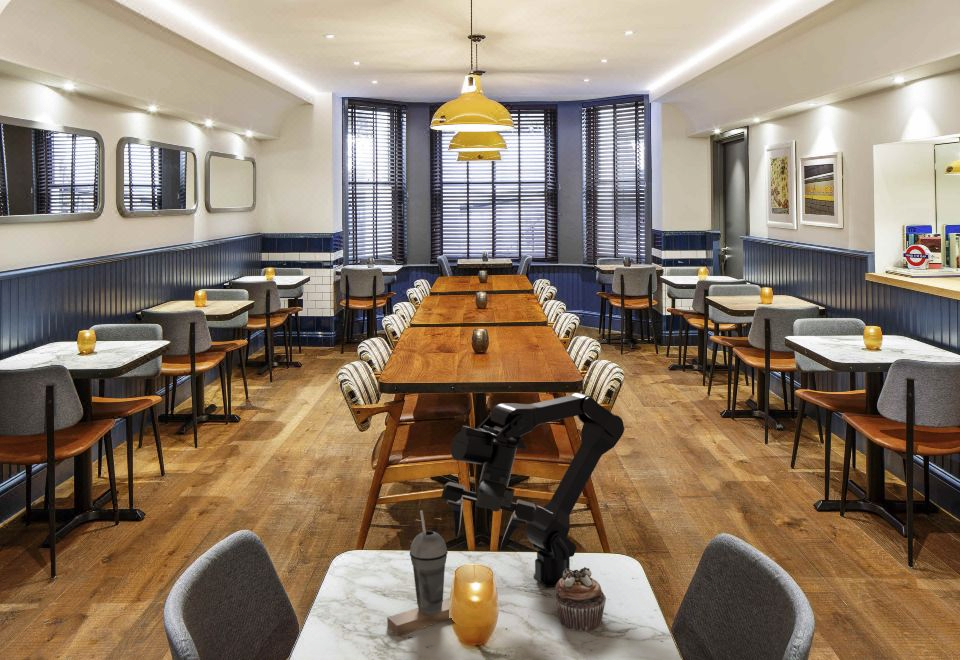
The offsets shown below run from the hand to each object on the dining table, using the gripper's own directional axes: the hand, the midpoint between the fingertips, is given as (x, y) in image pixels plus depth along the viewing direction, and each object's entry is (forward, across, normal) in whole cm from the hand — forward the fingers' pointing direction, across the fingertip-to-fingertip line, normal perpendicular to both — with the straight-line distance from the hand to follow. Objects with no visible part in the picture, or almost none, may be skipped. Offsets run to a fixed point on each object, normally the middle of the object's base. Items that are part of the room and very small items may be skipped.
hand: (478, 543), depth 166 cm
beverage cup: (+14, -6, -5) cm, 16 cm away
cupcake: (+8, +22, -5) cm, 24 cm away
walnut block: (+15, -6, -5) cm, 17 cm away
